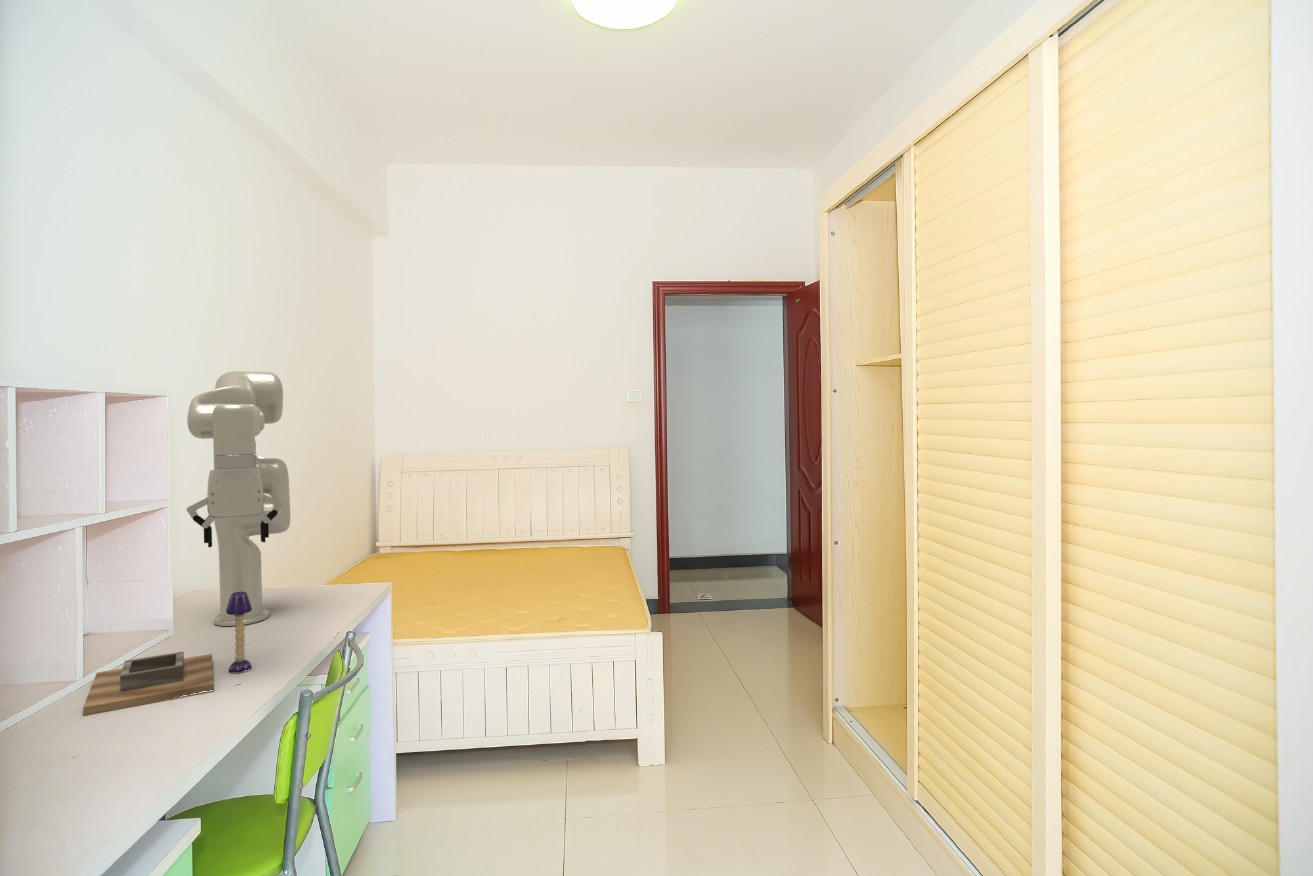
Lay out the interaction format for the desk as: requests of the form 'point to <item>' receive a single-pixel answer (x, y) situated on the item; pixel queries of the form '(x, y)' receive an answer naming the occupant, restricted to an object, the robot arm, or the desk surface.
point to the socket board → (149, 681)
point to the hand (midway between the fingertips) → (237, 543)
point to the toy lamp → (239, 628)
